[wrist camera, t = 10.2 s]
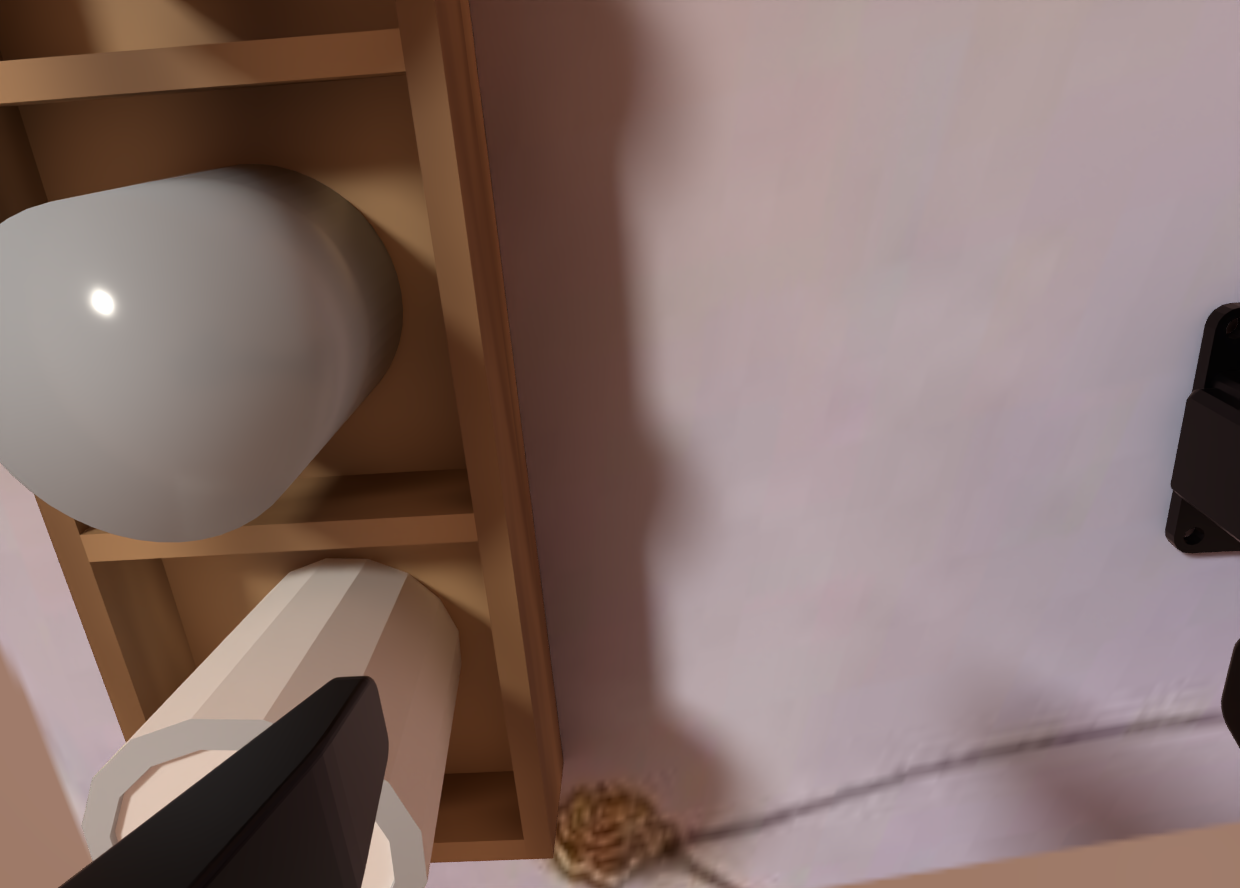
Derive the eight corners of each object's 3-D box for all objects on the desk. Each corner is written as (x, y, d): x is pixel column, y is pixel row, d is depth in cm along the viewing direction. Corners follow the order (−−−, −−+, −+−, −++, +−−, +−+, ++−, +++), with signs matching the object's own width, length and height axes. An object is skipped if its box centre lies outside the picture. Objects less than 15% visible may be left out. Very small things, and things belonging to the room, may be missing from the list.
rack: (395, -588, 15) (327, -775, 12) (563, 762, 26) (552, 858, 23) (-182, -521, 15) (-402, -682, 12) (230, 776, 27) (174, 871, 24)
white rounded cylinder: (377, 153, 19) (266, 184, 13) (422, 414, 21) (343, 533, 15) (107, 174, 19) (-113, 212, 13) (181, 428, 21) (18, 551, 16)
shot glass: (534, 677, 24) (495, 898, 17) (345, 780, 25) (246, 1018, 19) (374, 489, 22) (262, 662, 15) (179, 615, 23) (3, 819, 17)
